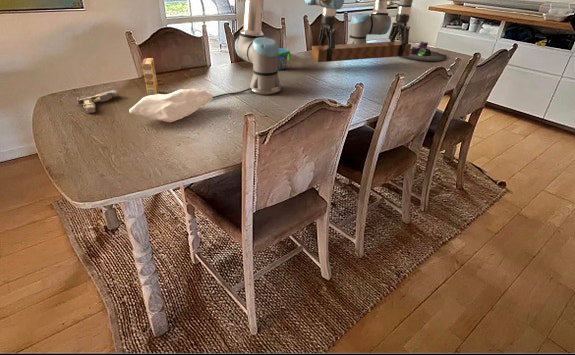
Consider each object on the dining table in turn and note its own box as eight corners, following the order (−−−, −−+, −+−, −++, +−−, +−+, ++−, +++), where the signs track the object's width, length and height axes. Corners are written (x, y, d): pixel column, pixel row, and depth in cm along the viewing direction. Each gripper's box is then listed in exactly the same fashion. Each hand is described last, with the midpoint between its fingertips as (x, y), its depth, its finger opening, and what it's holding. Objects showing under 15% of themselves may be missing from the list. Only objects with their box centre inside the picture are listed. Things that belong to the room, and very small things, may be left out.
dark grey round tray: (457, 57, 245) (460, 43, 240) (424, 63, 227) (427, 48, 223) (415, 49, 269) (417, 36, 265) (382, 54, 252) (384, 40, 247)
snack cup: (285, 64, 217) (285, 46, 212) (295, 68, 210) (296, 50, 204) (262, 67, 210) (262, 49, 204) (272, 72, 202) (272, 53, 197)
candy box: (157, 97, 164) (152, 63, 155) (147, 98, 163) (141, 63, 155) (158, 91, 171) (153, 57, 163) (149, 91, 170) (143, 58, 162)
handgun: (128, 97, 156) (111, 87, 164) (86, 107, 144) (70, 97, 152) (129, 103, 157) (113, 94, 165) (88, 114, 146) (72, 103, 154)
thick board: (317, 62, 203) (318, 49, 199) (311, 58, 210) (311, 46, 206) (409, 55, 223) (411, 44, 220) (400, 52, 230) (402, 40, 226)
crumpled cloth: (117, 110, 146) (113, 90, 140) (195, 92, 166) (194, 73, 160) (143, 139, 134) (140, 118, 128) (223, 116, 154) (224, 96, 148)
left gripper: (344, 19, 189) (339, 63, 201) (326, 12, 206) (322, 53, 218) (331, 19, 186) (327, 64, 198) (314, 12, 203) (311, 54, 215)
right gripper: (420, 17, 205) (411, 57, 217) (397, 11, 222) (390, 49, 234) (409, 17, 202) (401, 58, 215) (387, 11, 219) (380, 49, 231)
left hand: (325, 58), depth 208 cm, fingers closed on thick board, 9 cm apart
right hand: (395, 53), depth 224 cm, fingers closed on thick board, 9 cm apart
